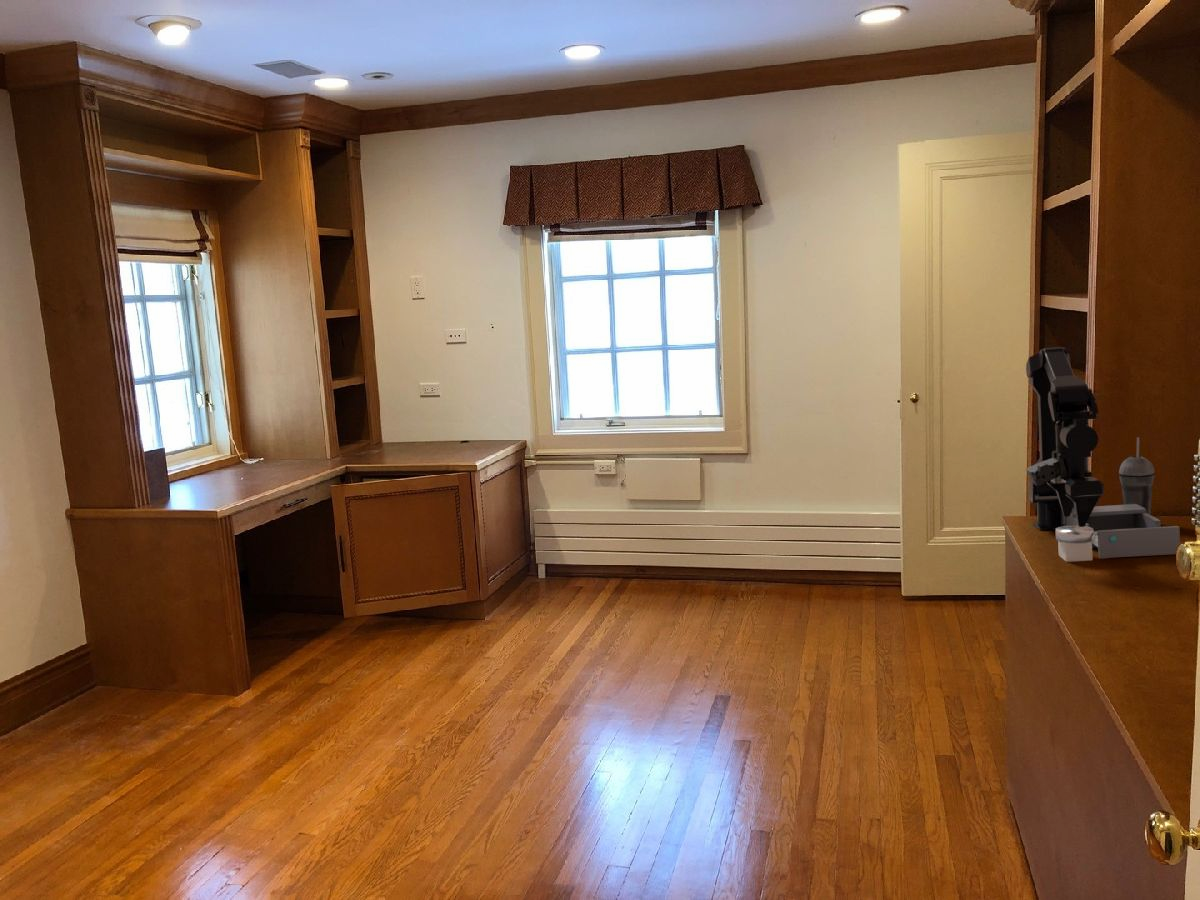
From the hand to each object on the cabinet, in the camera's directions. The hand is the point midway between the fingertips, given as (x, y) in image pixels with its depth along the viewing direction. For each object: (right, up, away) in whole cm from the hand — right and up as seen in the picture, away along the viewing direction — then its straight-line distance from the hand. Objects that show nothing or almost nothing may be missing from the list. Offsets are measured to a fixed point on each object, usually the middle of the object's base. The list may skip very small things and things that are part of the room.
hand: (1074, 521), depth 200 cm
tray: (+13, -6, +3) cm, 14 cm away
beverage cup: (+25, -2, +22) cm, 33 cm away
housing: (+14, -5, +12) cm, 19 cm away
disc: (0, -4, 0) cm, 4 cm away
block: (+1, -8, +1) cm, 8 cm away
